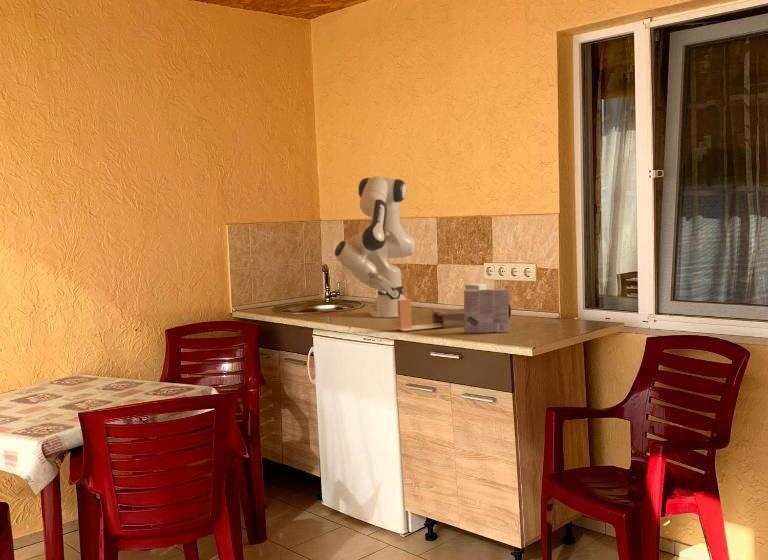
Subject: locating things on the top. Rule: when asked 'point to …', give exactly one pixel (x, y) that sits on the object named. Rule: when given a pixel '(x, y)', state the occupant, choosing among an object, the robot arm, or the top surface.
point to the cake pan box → (486, 311)
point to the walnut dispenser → (449, 318)
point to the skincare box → (475, 286)
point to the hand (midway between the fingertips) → (389, 293)
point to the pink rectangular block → (410, 317)
